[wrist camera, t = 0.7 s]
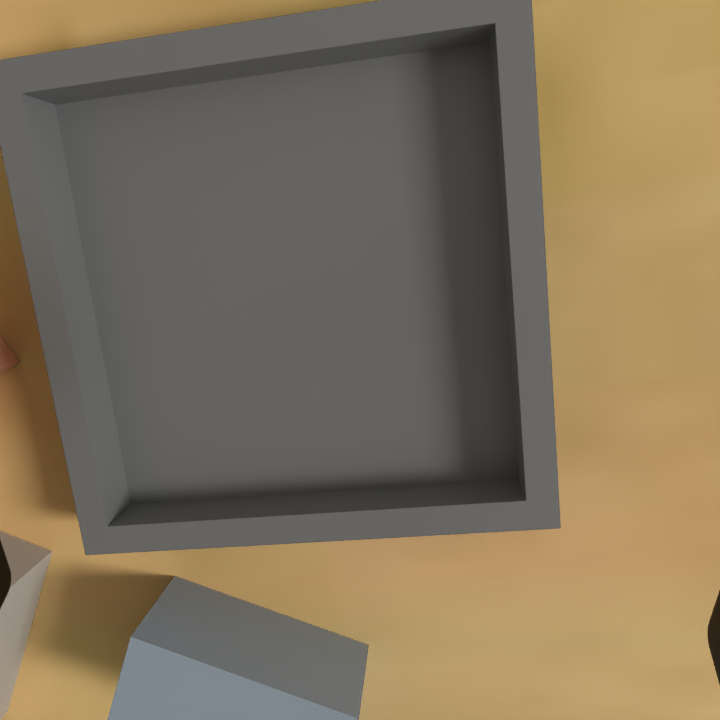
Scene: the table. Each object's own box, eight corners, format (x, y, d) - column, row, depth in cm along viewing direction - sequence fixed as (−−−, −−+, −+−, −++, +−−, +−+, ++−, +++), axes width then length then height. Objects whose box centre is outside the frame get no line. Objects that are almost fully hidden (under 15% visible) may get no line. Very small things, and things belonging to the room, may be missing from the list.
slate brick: (368, 642, 25) (358, 719, 21) (337, 724, 26) (322, 812, 22) (176, 573, 25) (130, 636, 21) (152, 657, 26) (103, 732, 22)
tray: (545, 495, 23) (560, 528, 20) (120, 521, 25) (85, 555, 22) (516, 9, 20) (530, -23, 17) (34, 82, 22) (-18, 62, 19)
